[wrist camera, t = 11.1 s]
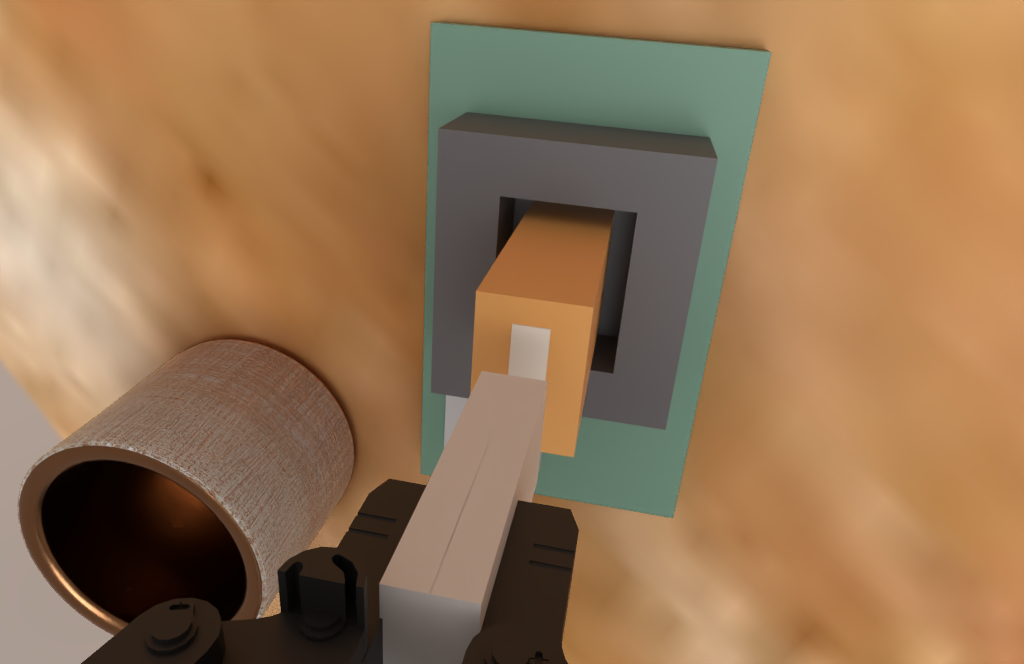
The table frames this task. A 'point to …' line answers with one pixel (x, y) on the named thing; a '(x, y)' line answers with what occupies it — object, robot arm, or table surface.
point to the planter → (189, 486)
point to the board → (608, 100)
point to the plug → (546, 310)
